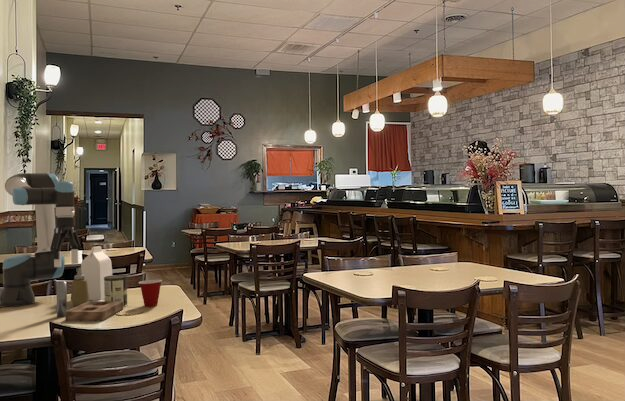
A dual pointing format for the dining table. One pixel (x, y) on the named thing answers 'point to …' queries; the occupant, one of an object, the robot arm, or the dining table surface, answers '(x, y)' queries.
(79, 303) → the squeeze bottle
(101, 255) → the milk
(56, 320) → the dining table surface
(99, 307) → the hole block
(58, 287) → the peg
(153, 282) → the plastic cup
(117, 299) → the coffee can
